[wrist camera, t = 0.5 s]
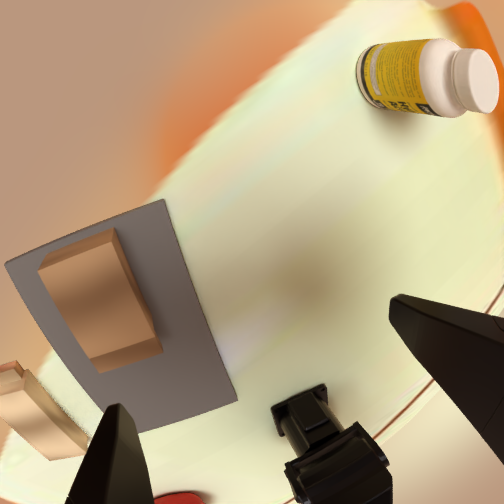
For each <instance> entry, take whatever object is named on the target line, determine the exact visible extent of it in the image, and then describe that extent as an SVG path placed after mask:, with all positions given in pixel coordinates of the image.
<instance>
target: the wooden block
mask: <svg viewBox="0 0 504 504" xmlns="http://www.w3.org/2000/svg"><path fill="white" fill-rule="evenodd" d="M38 273H39V275H40V277H41V279H42V281H43V283H44V285H45V287H46V289H47V291H48V292H49V294H50V296H51V298H52V300H53V301H54V303H55V305H56V307H57V308H58V310H59V312H60V314H61V315H62V317H63V319H64V320H65V322H66V324H67V325H68V327H69V329H70V330H71V332H72V333H73V335H74V337H75V338H76V340H77V341H78V343H79V344H80V346H81V347H82V349H83V350H84V352H85V353H86V355H87V356H88V358H89V359H90V361H91V362H92V364H93V365H94V367H95V368H96V369H97V371H98V372H99V374H100V373H103V372H106V371H110V370H113V369H116V368H119V367H122V366H125V365H128V364H132V363H135V362H138V361H141V360H144V359H147V358H150V357H153V356H156V355H158V354H161V353H164V352H163V347H162V344H161V342H160V340H159V338H158V336H157V334H156V332H155V330H154V326H153V319H152V314H151V312H150V310H149V308H148V306H147V304H146V302H145V300H144V297H143V295H142V293H141V291H140V289H139V286H138V284H137V282H136V280H135V277H134V275H133V273H132V270H131V268H130V266H129V263H128V261H127V259H126V256H125V254H124V251H123V249H122V246H121V244H120V241H119V239H118V236H117V234H116V231H115V229H114V227H112V228H110V229H107V230H105V231H102V232H99V233H97V234H94V235H92V236H89V237H87V238H84V239H82V240H79V241H76V242H74V243H72V244H69V245H67V246H64V247H62V248H59V249H57V250H55V251H52V252H50V253H47V254H46V256H45V258H44V259H43V261H42V263H41V265H40V267H39V269H38Z"/></svg>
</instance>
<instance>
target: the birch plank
mask: <svg viewBox="0 0 504 504" xmlns="http://www.w3.org/2000/svg"><path fill="white" fill-rule="evenodd" d="M0 416H1V417H2V418H3V419H4V420H5V421H6V422H7V423H8V424H9V425H10V426H11V427H12V428H13V429H14V430H15V431H16V432H17V433H18V434H19V435H20V436H21V437H23V438H24V439H25V440H26V441H27V442H28V443H29V444H30V445H31V446H33V447H34V448H35V449H36V450H37V451H38V452H40V453H41V454H42V455H43V456H44V457H46V458H47V459H48V460H49V461H52V460H58V459H65V458H70V457H76V456H81V455H85V454H86V452H87V449H88V448H87V435H86V434H85V433H84V432H83V431H82V430H81V429H80V428H79V427H78V426H77V425H76V424H75V423H74V422H73V421H72V420H71V419H70V418H69V417H68V415H67V414H66V413H65V412H64V411H63V410H62V409H61V408H60V407H59V406H58V405H57V403H56V402H55V401H54V400H53V399H52V398H51V397H50V396H49V394H48V393H47V392H46V391H45V390H44V388H43V387H42V386H41V385H40V384H39V382H38V381H37V380H36V379H35V377H34V375H33V374H32V373H31V372H30V370H29V369H26V370H24V369H23V368H22V367H21V365H20V364H19V363H18V361H17V360H15V361H12V362H9V363H6V364H2V365H0Z"/></svg>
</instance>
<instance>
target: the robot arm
mask: <svg viewBox="0 0 504 504" xmlns="http://www.w3.org/2000/svg"><path fill="white" fill-rule="evenodd" d="M389 321H390V323H391V325H392V326H393V327H394V329H395V330H396V332H397V333H398V334H399V336H400V337H401V339H402V340H403V341H404V343H405V344H406V346H407V347H408V349H409V350H410V351H411V353H412V354H413V355H414V356H415V358H416V359H417V360H418V361H419V362H420V363H421V365H422V366H423V367H424V368H425V369H426V370H427V372H428V373H429V374H430V375H431V376H432V377H433V378H434V380H435V381H436V382H437V383H438V384H439V385H440V387H441V388H442V389H443V390H444V391H445V393H446V394H447V395H448V396H449V397H450V398H451V400H452V401H453V402H454V403H455V404H456V406H458V408H459V409H460V410H461V412H462V413H463V414H464V415H465V416H466V418H467V419H468V420H469V421H470V422H471V424H472V425H473V426H474V428H475V429H476V430H477V431H478V433H479V434H480V435H481V437H482V438H483V439H484V440H485V442H486V443H487V444H488V445H489V446H490V448H491V449H492V450H493V451H494V453H495V454H496V455H497V457H498V458H499V459H500V461H501V462H502V463H503V465H504V318H501V317H497V316H493V315H492V316H491V315H489V314H485V313H480V312H476V311H472V310H468V309H463V308H459V307H455V306H451V305H447V304H443V303H438V302H434V301H430V300H426V299H422V298H417V297H413V296H409V295H405V294H398V295H396V296H394V297H392V298H391V300H390V306H389ZM271 412H272V416H273V419H274V422H275V425H276V428H277V431H278V434H279V436H280V437H283V436H285V435H286V437H287V439H288V440H289V442H290V444H291V446H292V448H293V449H294V451H295V453H296V455H297V456H298V458H296V459H294V460H292V461H290V462H287V463H285V467H286V469H285V471H284V473H285V475H286V477H287V478H288V480H289V483H290V485H291V488H292V491H293V495H294V498H295V500H296V502H297V503H300V504H393V492H392V491H393V490H392V489H393V488H392V487H393V484H392V476H391V474H390V473H389V471H388V470H387V468H386V467H387V466H389V465H390V464H389V461H388V459H387V457H386V456H385V454H384V453H383V451H382V450H381V448H380V447H379V446H378V444H377V443H376V442H375V441H374V440H373V439H372V437H371V436H370V435H369V434H368V433H367V432H366V431H365V430H364V428H363V427H362V426H361V425H360V424H359V423H358V422H357V421H356V422H355V423H353V425H352V426H350V427H349V428H347V429H346V430H345V429H344V428H343V426H342V425H341V424H340V422H339V421H338V419H337V418H336V417H335V415H334V414H333V412H332V411H331V410H330V408H329V407H328V397H327V387H326V386H325V385H324V384H322V385H320V386H318V387H316V388H313V389H311V390H309V391H307V392H305V393H303V394H301V395H298V396H296V397H294V398H292V399H290V400H287V401H285V402H283V403H281V404H278V405H276V406H274V407H272V408H271ZM68 496H69V497H67V499H66V501H65V504H155V503H154V498H153V493H152V489H151V484H150V478H149V473H148V468H147V464H146V461H145V457H144V454H143V450H142V447H141V443H140V440H139V436H138V432H137V429H136V425H135V422H134V420H133V418H132V417H131V415H130V414H129V413H128V411H127V410H126V409H125V407H124V406H123V405H122V404H121V403H115V404H112V405H109V406H108V407H107V408H106V410H105V412H104V414H103V417H102V419H101V421H100V423H99V425H98V427H97V430H96V432H95V434H94V436H93V438H92V441H91V443H90V445H89V447H88V449H87V452H86V454H85V456H84V459H83V461H82V463H81V465H80V468H79V470H78V472H77V475H76V477H75V480H74V482H73V484H72V487H71V489H70V492H69V494H68Z"/></svg>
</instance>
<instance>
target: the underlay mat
mask: <svg viewBox="0 0 504 504" xmlns="http://www.w3.org/2000/svg"><path fill="white" fill-rule="evenodd" d="M112 227H114V229H115V231H116V234H117V236H118V239H119V241H120V244H121V246H122V249H123V251H124V254H125V256H126V259H127V261H128V263H129V266H130V268H131V270H132V273H133V275H134V277H135V280H136V282H137V284H138V286H139V289H140V291H141V293H142V295H143V297H144V300H145V302H146V304H147V306H148V308H149V310H150V312H151V314H152V319H153V326H154V330H155V332H156V334H157V336H158V338H159V340H160V342H161V344H162V347H163V352H164V353H161V354H158V355H156V356H153V357H150V358H147V359H144V360H141V361H138V362H135V363H132V364H128V365H125V366H122V367H119V368H116V369H113V370H110V371H106V372H103V373H100V374H99V372H98V371H97V369H96V368H95V367H94V365H93V364H92V362H91V361H90V359H89V358H88V356H87V355H86V353H85V352H84V350H83V349H82V347H81V346H80V344H79V343H78V341H77V340H76V338H75V337H74V335H73V333H72V332H71V330H70V329H69V327H68V325H67V324H66V322H65V320H64V319H63V317H62V315H61V314H60V312H59V310H58V308H57V307H56V305H55V303H54V301H53V300H52V298H51V296H50V294H49V292H48V291H47V289H46V287H45V285H44V283H43V281H42V279H41V277H40V275H39V273H38V269H39V267H40V265H41V263H42V261H43V259H44V258H45V256H46V254H47V253H50V252H52V251H55V250H57V249H59V248H62V247H64V246H67V245H69V244H72V243H74V242H76V241H79V240H82V239H84V238H87V237H89V236H92V235H94V234H97V233H99V232H102V231H105V230H107V229H110V228H112ZM4 266H5V268H6V270H7V272H8V273H9V275H10V277H11V279H12V281H13V283H14V285H15V287H16V289H17V290H18V292H19V294H20V295H21V298H22V299H23V301H24V303H25V304H26V306H27V308H28V309H29V311H30V313H31V315H32V316H33V318H34V319H35V321H36V323H37V324H38V326H39V327H40V329H41V330H42V332H43V334H44V335H45V337H46V338H47V340H48V341H49V343H50V344H51V346H52V347H53V349H54V350H55V351H56V353H57V354H58V356H59V357H60V358H61V360H62V361H63V363H64V364H65V365H66V367H67V368H68V369H69V371H70V372H71V373H72V375H73V376H74V377H75V379H76V380H77V381H78V383H79V384H80V385H81V386H82V388H83V389H84V390H85V391H86V393H87V394H88V395H89V396H90V398H91V399H92V400H93V401H94V402H95V403H96V405H97V406H98V407H99V408H100V409H101V411H102V412H103V413H104V412H105V410H106V408H107V407H108V406H109V405H112V404H115V403H121V404H122V405H123V406H124V407H125V409H126V410H127V411H128V413H129V414H130V415H131V417H132V418H133V420H134V422H135V425H136V429H137V432H138V433H142V432H145V431H149V430H152V429H156V428H159V427H162V426H166V425H169V424H172V423H175V422H179V421H182V420H185V419H188V418H191V417H194V416H197V415H200V414H203V413H206V412H209V411H211V410H214V409H217V408H220V407H222V406H225V405H228V404H230V403H233V402H236V401H238V399H237V397H236V394H235V392H234V389H233V387H232V385H231V382H230V380H229V378H228V375H227V373H226V370H225V368H224V366H223V363H222V361H221V358H220V356H219V353H218V351H217V348H216V346H215V343H214V341H213V338H212V336H211V333H210V330H209V328H208V325H207V323H206V320H205V317H204V315H203V312H202V309H201V307H200V304H199V301H198V299H197V296H196V293H195V291H194V288H193V285H192V282H191V280H190V277H189V274H188V271H187V268H186V266H185V263H184V260H183V257H182V254H181V251H180V248H179V245H178V242H177V239H176V236H175V233H174V230H173V227H172V224H171V221H170V218H169V215H168V212H167V209H166V206H165V203H164V200H163V199H161V200H158V201H155V202H152V203H149V204H147V205H144V206H141V207H138V208H135V209H133V210H130V211H127V212H124V213H122V214H119V215H116V216H114V217H111V218H109V219H106V220H103V221H101V222H98V223H96V224H93V225H91V226H88V227H86V228H83V229H80V230H78V231H76V232H73V233H71V234H68V235H66V236H63V237H61V238H59V239H56V240H54V241H52V242H49V243H47V244H44V245H42V246H40V247H38V248H35V249H33V250H31V251H28V252H27V253H24V254H22V255H20V256H18V257H15V258H13V259H11V260H9V261H7V262H6V263H5V264H4Z"/></svg>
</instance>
